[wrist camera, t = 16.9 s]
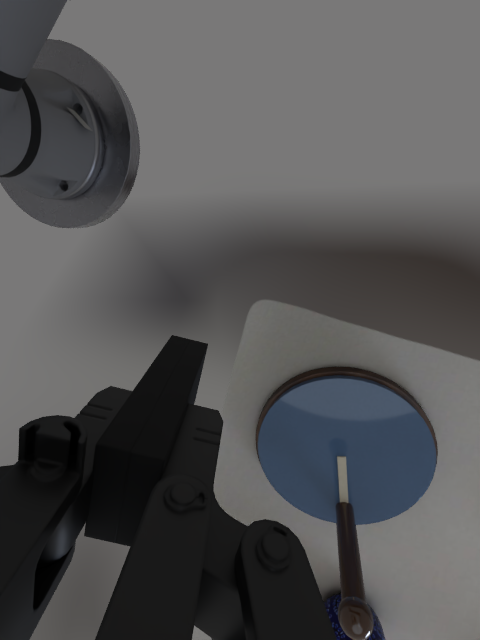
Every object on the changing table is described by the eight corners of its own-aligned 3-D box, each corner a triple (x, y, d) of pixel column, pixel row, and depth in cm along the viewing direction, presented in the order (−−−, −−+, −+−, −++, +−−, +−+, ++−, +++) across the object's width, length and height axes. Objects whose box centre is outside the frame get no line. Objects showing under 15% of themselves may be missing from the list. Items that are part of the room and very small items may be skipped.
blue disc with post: (250, 376, 47) (215, 455, 31) (436, 373, 41) (514, 468, 25) (267, 512, 53) (246, 637, 37) (431, 526, 47) (492, 683, 31)
